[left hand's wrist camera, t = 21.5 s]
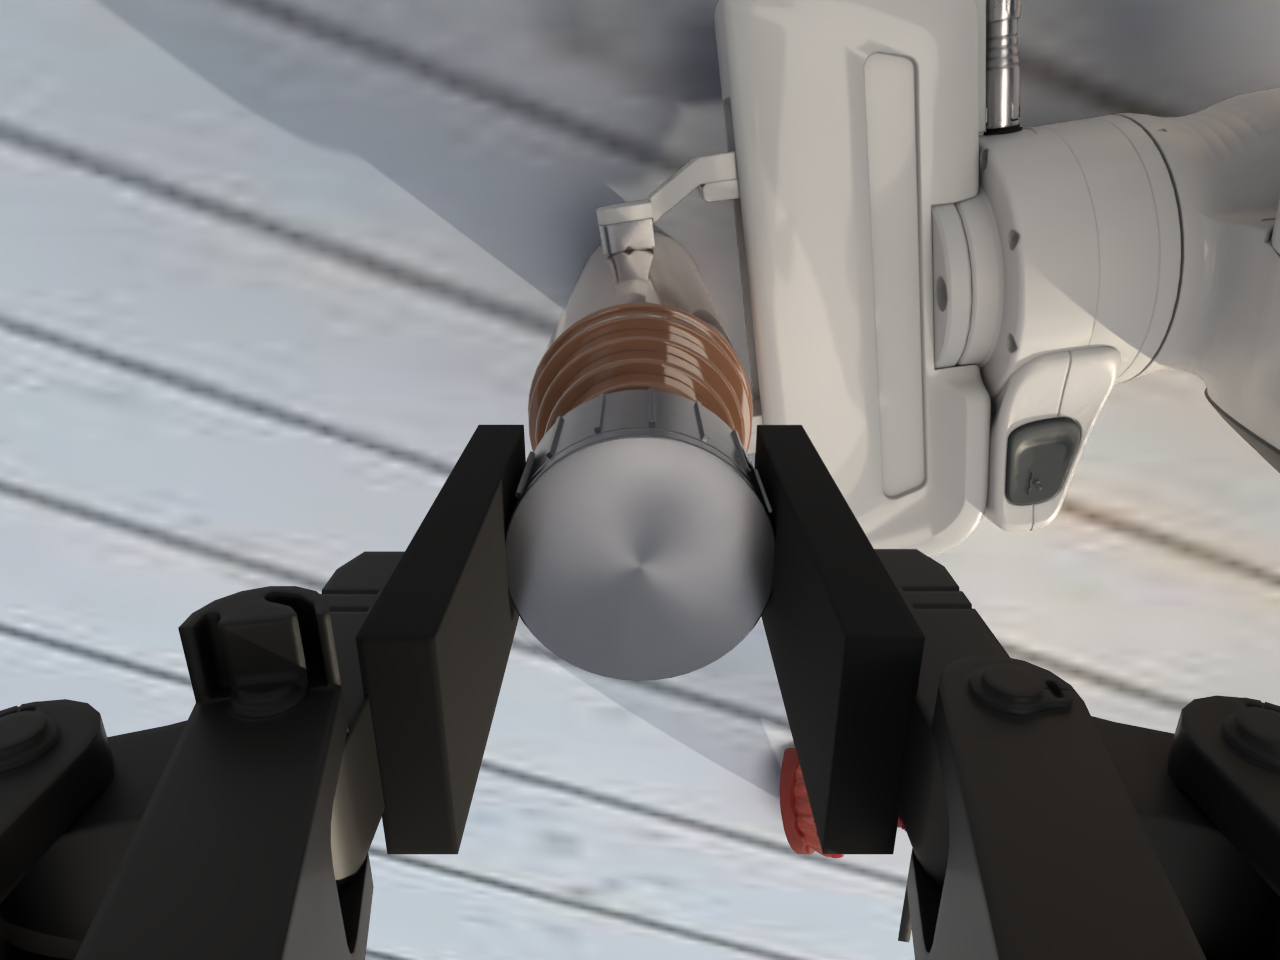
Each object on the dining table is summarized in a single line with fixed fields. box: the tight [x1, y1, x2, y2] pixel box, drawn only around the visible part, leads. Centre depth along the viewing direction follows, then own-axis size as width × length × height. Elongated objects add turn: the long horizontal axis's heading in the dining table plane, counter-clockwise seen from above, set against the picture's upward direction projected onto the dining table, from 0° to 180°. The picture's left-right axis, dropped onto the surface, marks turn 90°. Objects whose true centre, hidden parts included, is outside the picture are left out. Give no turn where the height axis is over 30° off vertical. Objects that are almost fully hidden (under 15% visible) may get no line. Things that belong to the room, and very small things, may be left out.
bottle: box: [528, 231, 753, 452], centre depth 24 cm, size 5×5×24 cm
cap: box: [505, 388, 776, 681], centre depth 13 cm, size 4×4×2 cm
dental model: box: [780, 748, 906, 858], centre depth 42 cm, size 6×4×8 cm
